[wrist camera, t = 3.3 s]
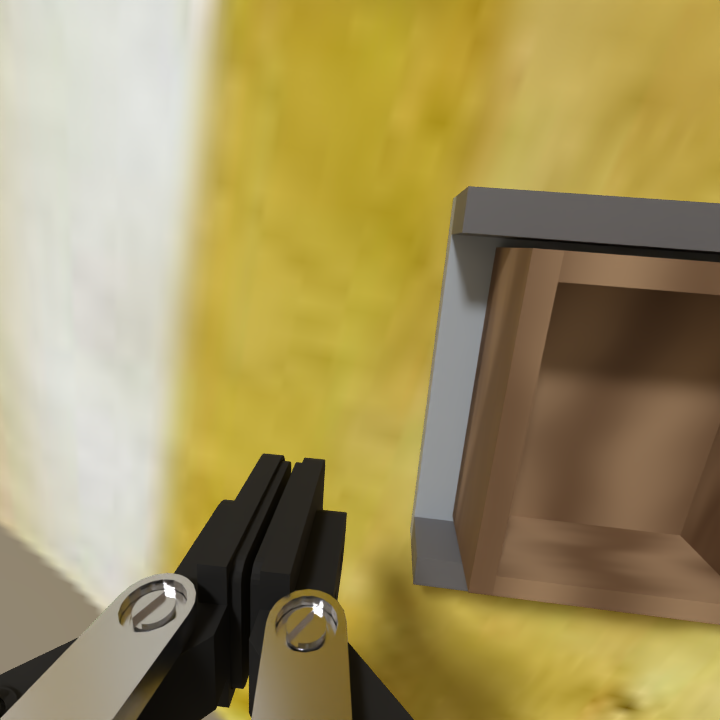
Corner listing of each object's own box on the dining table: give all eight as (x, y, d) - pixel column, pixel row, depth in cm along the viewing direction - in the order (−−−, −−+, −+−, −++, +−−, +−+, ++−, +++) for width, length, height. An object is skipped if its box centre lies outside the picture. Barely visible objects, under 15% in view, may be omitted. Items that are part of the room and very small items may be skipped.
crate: (782, 269, 17) (932, 279, 12) (684, 543, 21) (768, 630, 16) (496, 247, 18) (533, 248, 13) (452, 515, 22) (468, 592, 17)
